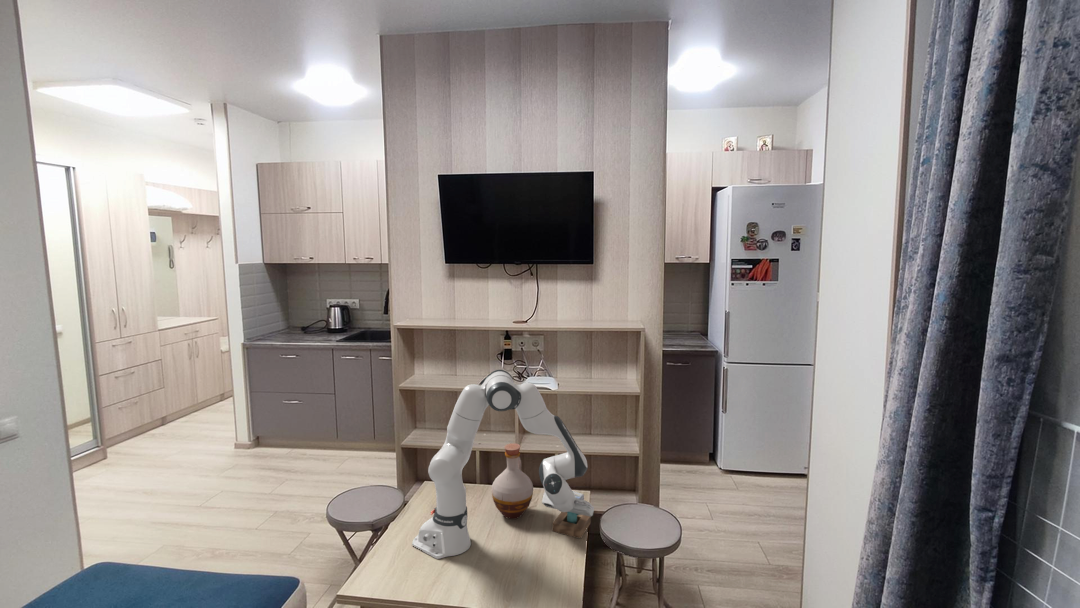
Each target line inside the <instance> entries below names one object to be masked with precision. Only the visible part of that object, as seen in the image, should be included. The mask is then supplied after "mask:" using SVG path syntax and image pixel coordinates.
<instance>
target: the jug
mask: <svg viewBox="0 0 1080 608" xmlns="http://www.w3.org/2000/svg"><path fill="white" fill-rule="evenodd" d="M520 449H521V445H520V444H518V443H516V442H512V443H510V442H509V443H507V444H505V445H504V457H505V458H506V468H505V469H504V470H503V471H502V472H501V473H500V474H499V475H498V476H497V477H495V479H494V481H493V482H492V485H491V497H492V500H493V503H494V505H495V508H496V509H497V510H498V512H500V514H501V515H502V516H503V517H504V518H506V519H511V520H513V519H514V520H516V519H518V518H520V517H521V516H523V514H524V513H525V512H526V511H527V509H528V508H529V507H530V504H531V502H532V500H533V495H534V486H533V485H534V484H533V482H532V480H531V478H530V477H529V476H528V475H527V474H526V473H525V472H523V471H522V460H521V457H520V455H521V452H520Z"/></svg>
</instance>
